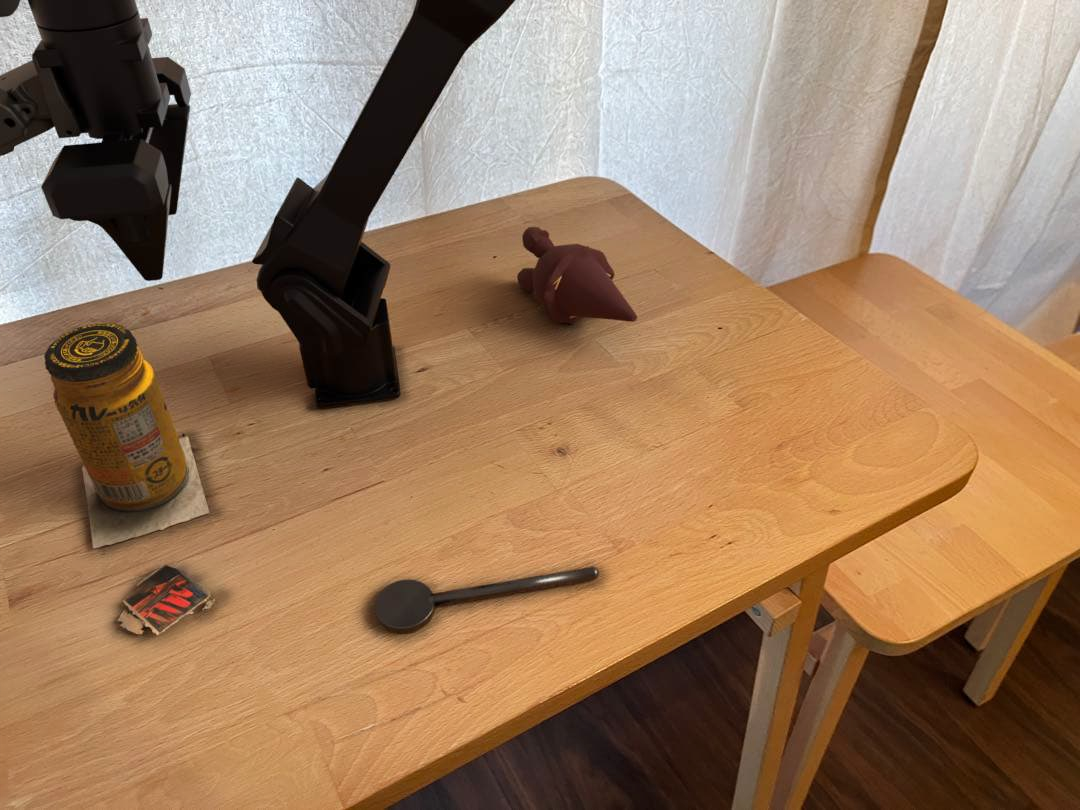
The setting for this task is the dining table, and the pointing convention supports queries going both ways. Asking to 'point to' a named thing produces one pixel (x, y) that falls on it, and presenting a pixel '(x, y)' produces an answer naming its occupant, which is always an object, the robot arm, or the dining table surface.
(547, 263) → the brown gnome figurine
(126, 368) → the condiment
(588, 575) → the steel spoon
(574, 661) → the dining table surface
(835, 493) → the dining table surface
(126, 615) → the torn cardboard piece
